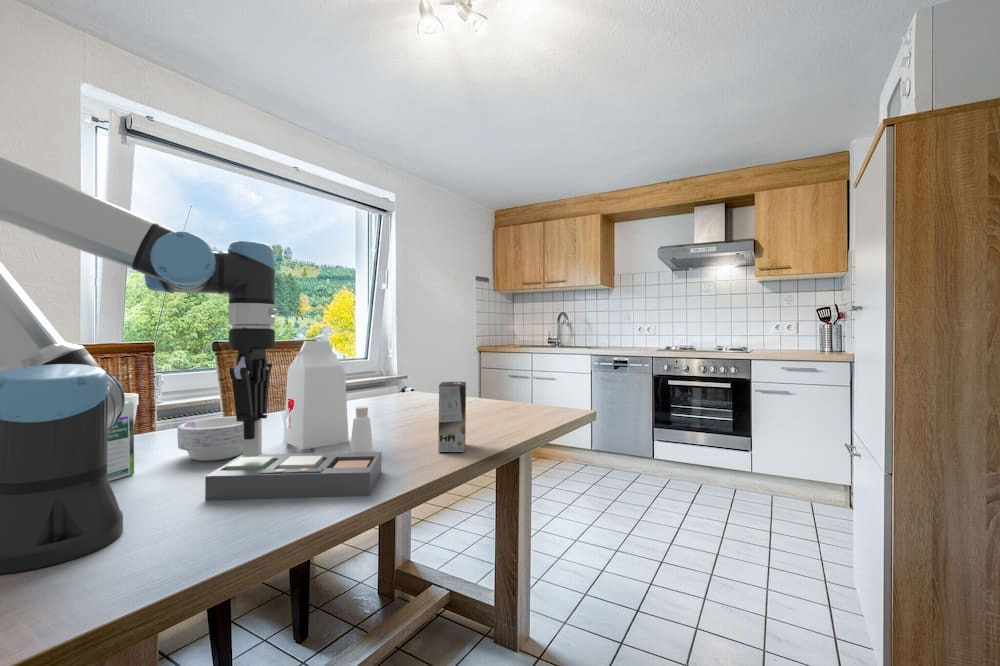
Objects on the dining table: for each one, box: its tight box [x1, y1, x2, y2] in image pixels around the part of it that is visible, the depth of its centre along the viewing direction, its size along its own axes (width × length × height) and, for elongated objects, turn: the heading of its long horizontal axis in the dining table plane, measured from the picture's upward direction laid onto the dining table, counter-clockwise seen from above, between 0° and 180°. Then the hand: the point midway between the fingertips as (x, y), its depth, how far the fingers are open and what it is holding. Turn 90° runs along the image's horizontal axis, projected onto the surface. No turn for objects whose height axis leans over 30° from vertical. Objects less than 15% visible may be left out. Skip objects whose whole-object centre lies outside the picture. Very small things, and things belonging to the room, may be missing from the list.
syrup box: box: [107, 401, 135, 482], centre depth 90 cm, size 6×6×14 cm
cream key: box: [279, 456, 323, 469], centre depth 87 cm, size 6×6×2 cm
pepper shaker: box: [349, 405, 374, 453], centre depth 109 cm, size 5×5×11 cm
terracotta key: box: [333, 460, 371, 468], centre depth 88 cm, size 6×6×2 cm
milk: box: [283, 340, 350, 450], centre depth 121 cm, size 12×12×26 cm
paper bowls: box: [176, 415, 243, 462], centre depth 106 cm, size 15×15×8 cm
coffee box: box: [437, 381, 467, 453], centre depth 115 cm, size 9×6×16 cm
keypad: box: [204, 451, 382, 501], centre depth 87 cm, size 14×27×4 cm, turn 96°
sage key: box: [226, 457, 274, 470], centre depth 86 cm, size 6×6×2 cm
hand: (252, 455), depth 86 cm, fingers closed
